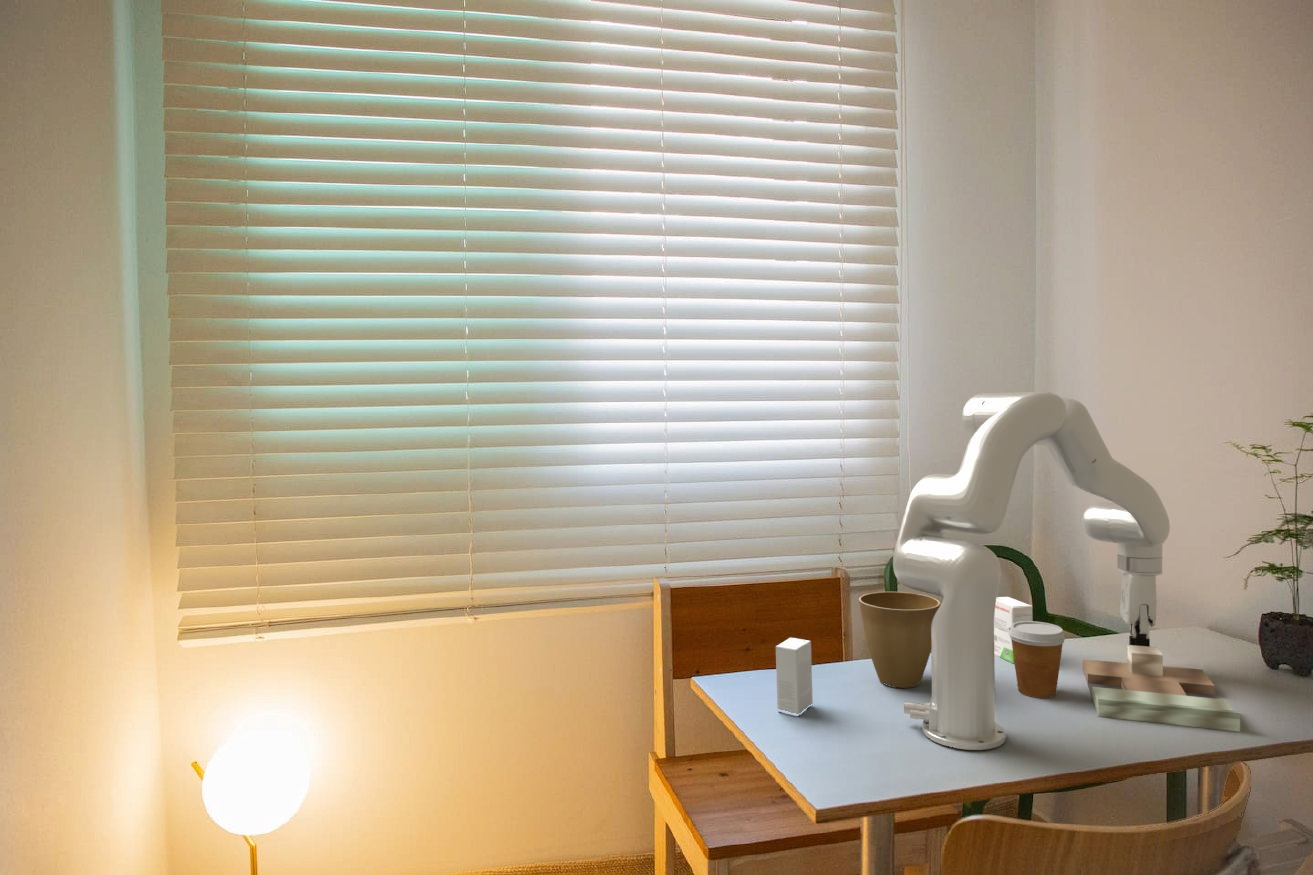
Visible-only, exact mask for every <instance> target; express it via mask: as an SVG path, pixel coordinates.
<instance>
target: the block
mask: <svg viewBox="0 0 1313 875" xmlns="http://www.w3.org/2000/svg"><path fill="white" fill-rule="evenodd" d="M1126 647H1127V653H1126V654H1127V658H1126V659H1127V661H1126V663H1127V666H1128V668H1129V670H1130V672H1131V674H1139V675H1150V676H1161V677H1163V666H1164V665H1163V664H1164V656H1163V653H1162V652H1161V650H1160V649H1159V647H1158V646H1150V647H1148V646H1135V645H1129V644H1127V645H1126Z"/></svg>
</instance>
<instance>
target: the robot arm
mask: <svg viewBox="0 0 1313 875" xmlns="http://www.w3.org/2000/svg"><path fill="white" fill-rule="evenodd" d="M961 421H962V425H963V427H964V428H963V429H964V430H965V431H966V433H967V434H968V435H969V436H970V437H971V438H970V439H969V441H968V443H967V446H966V448H965V452H964V454H963V456H962V460H961V464H960V466H959V469H958V471H957V472H956V473H954V474H953V473H952V474H951V473H949V474H948V473H932V474H928V475H925V476H923V477H922V478H921V479H920V480H919V481H918V482H917V483H916V484H915V485H914V486H913V488H912V490H911V492H910V494H909V497H908V499H907V503H906V507H905V510H904V513H903V517H902V521H901V524H900V528H899V531H898V532H899V533H898V535H897V539H896V544H895V546H894V552H893V559H892V568H893V573H894V576H895V577H896V579H897V581H898V582H899V583H900V584H902V585H903V586H904V587H906V588H909V589H911V590H915V591H918V592H919V591H920V592H921V593H927V594H931V595H936V596H937V597H942V602H941V603H940V607H939V609H938V610H937V612H936V613H935V615H934V617H933V620H932V624H931V652H930V656H931V698H930V701H929V702H928V701H927V702H926V701H924V703H916V702H911V701H904V702H903V713H904V714H905V715H909V718H910V719H912V720H923V721H922V724H921V726H922V730H921V731H922V732H923V734H924V735H925V736H926V737H927V738H930V739H929V740H931V741H933V742H935V743H937V744H940V745H942V746H946V747H948V746H949V748H952V747H953V748H954V749H959V750H965V751H966V750H967V751H984V750H991V749H996V748H997V747H1000V746H1002V744H1004V743H1005V741H1006V730H1005V729H1004V728H1003V727H1002V725H1000V723H997V722H996V714H995V713H996V709H995V708H996V706H995V704H996V702H995V700H996V699H995V696H996V695H995V693H996V691H995V688H996V687H995V679H996V678H995V673H996V672H995V654H994V616H995V605H996V598H997V597H998V592H999V588H1000V583H1001V575H1002V569H1001V567H1002V566H1001V563H1000V560H999V558H998V556H997V555H996V554H995V553H994V552H993V550H991V549H990V548H988V547H987V546H985V545H983V544H981V543H978V542H974V541H969V540H965V539H964V540H963V539H958V538H952V537H944V536H945V533H946V531H947V532H954V533H955V532H956V533H962V534H969V535H975V536H976V535H977V536H989V535H992V534H995V533H997V532H998V531H999V530H1000V529H1001V527H1002V525H1003V523H1004V522H1005V518H1006V515H1007V511H1008V508H1009V504H1010V501H1011V497H1012V492H1013V489H1014V485H1015V480H1016V477H1017V473H1018V470H1019V466H1020V463H1021V462H1022V459H1023V458H1024V456H1025V454H1026V453H1027V452H1028V451H1029V450H1030V449H1031V448H1032V447H1033V446H1035V445H1036V446H1037V445H1041V446H1045V447H1047V448H1048V450H1049V453H1050V454H1051V456H1052V457H1053V459H1054V461H1055V463H1056V464H1057V466H1058V468H1059V470H1060V472H1061V474H1062V475H1063V477H1064V479H1065V480H1066V482H1068V483H1069V484H1071V485H1072V486H1074V487H1075V488H1078V489H1080V490H1083V491H1085V492H1087V493H1089V494H1092V495H1094V496H1097V497H1100V498H1103V499H1105V500H1107V501H1101V502H1100V501H1099V502H1095V503H1093V504H1090V505H1089V506H1088V507H1087V508H1086V509H1085V510H1084V512H1083V513H1082V516H1081V527H1082V530H1083V532H1084V533H1085V534H1086V535H1087V536H1088V537H1090V538H1092V539H1093V540H1096V541H1101V542H1106V543H1113V544H1117V546H1116V547H1117V549H1116V551H1117V555H1116V557H1117V561H1116V562H1117V565H1116V566H1117V567H1116V570H1117V572H1119V573H1121V584H1120V585H1121V586H1120V604H1119V608H1120V609H1119V614H1120V617H1121V618H1122V620H1123V621H1124V622H1125V624H1126V625H1127V626H1129V634H1130V635H1129V636H1128V637H1129V644H1128V645H1135V646H1148V647H1151V646H1150V643H1151V642H1150V641H1151V639H1150V627H1151V628H1153V627H1155V626H1156V624H1157V576H1161V575H1163V544H1164V543H1165V542H1166V540H1168V537H1169V535H1170V527H1171V525H1170V518H1169V516H1168V513H1167V510H1166V508H1165V506H1164V504H1163V502H1162V500H1161V497H1160V496H1159V494H1158V492H1157V491H1156V490H1155V488H1154V487H1153V486H1152V485H1151V483H1149V482H1148V481H1147V480H1146V479H1144V478H1143V477H1141V476H1140V475H1138V474H1137V473H1135V471H1133V470H1132V469H1130V468H1129V467H1128V466H1125V465H1124V464H1122V463H1121V462H1119V461H1117V460H1116V459H1114V458H1113V457H1112V455H1111V453H1110V451H1109V449H1108V448H1107V446H1106V444H1105V441H1104V440H1103V438H1102V436H1101V434H1100V432H1099V429H1098V428H1097V426H1096V424H1095V422H1094V420H1093V418H1092V416H1091V414H1090V413H1089V411H1088V409H1087V407H1086V406H1085V405H1084V404H1083V403H1082V402H1080V401H1078V400H1076V399H1072V398H1067V397H1061V396H1060V395H1058V394H1055V393H1053V392H1047V391H1015V392H1014V391H1010V392H982V393H978V394H975V395H973V396H972V397H971V398H969V399H968V400H967V401H966V403H965V404H964V406H963V409H962V412H961ZM1108 501H1109V502H1108Z"/></svg>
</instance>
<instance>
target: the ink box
mask: <svg viewBox="0 0 1313 875" xmlns="http://www.w3.org/2000/svg"><path fill="white" fill-rule="evenodd" d="M1033 618H1034V617H1033V605H1031V604H1028V603H1026V602H1023V601H1020V600H1018V599H1015V598H1012V597H1009V596H997V598H996V605H995V616H994V656H997V657H999V658H1000V659H1003V660H1005V661H1007V662H1009V663H1011V664H1014V665H1015V662H1014V655H1013V648H1012V640H1011V638H1010V635H1009V633H1008V631H1009V630H1010V628H1011V625H1012V624H1013V623H1015V622H1022V621H1033Z"/></svg>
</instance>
